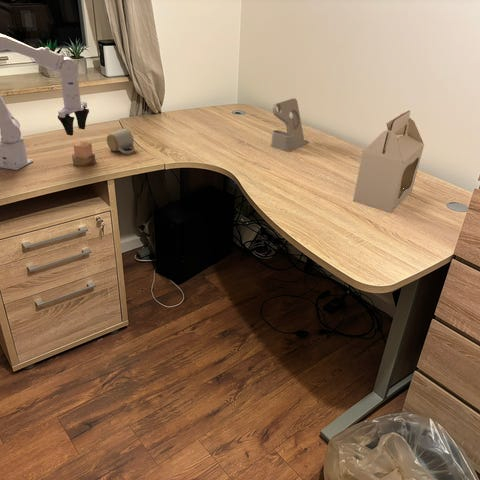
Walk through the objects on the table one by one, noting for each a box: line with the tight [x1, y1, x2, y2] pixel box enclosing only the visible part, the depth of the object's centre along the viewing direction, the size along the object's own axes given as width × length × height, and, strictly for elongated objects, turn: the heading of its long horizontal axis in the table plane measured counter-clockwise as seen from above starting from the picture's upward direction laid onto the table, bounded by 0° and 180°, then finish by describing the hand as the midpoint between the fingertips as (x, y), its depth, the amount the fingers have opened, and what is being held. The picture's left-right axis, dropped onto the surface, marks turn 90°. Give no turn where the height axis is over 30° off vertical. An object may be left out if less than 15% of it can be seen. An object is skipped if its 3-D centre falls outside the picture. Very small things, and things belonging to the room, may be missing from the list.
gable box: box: [352, 110, 425, 213], centre depth 154 cm, size 22×13×28 cm, turn 145°
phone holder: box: [270, 97, 310, 153], centre depth 197 cm, size 17×10×18 cm, turn 142°
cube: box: [73, 141, 94, 159], centre depth 170 cm, size 4×4×4 cm
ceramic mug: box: [106, 128, 135, 155], centre depth 183 cm, size 11×8×8 cm
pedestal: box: [71, 152, 96, 168], centre depth 172 cm, size 8×8×3 cm
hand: (76, 131), depth 172 cm, fingers open, 7 cm apart
